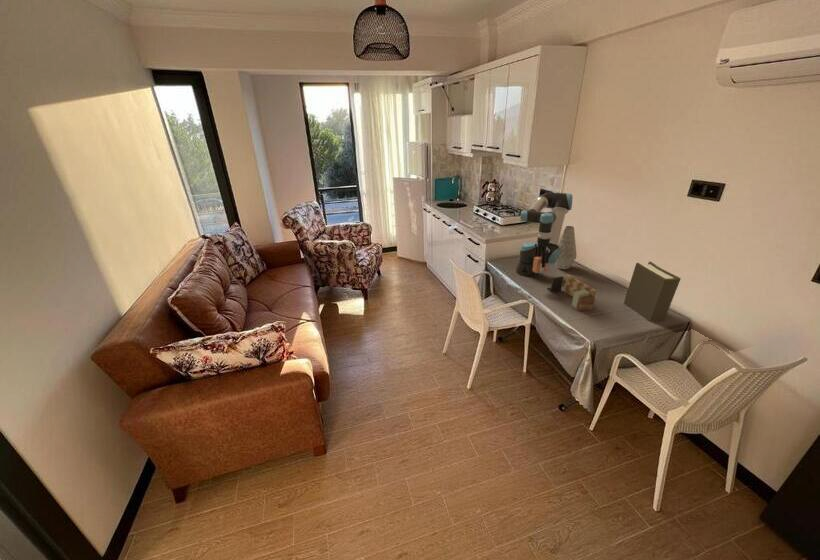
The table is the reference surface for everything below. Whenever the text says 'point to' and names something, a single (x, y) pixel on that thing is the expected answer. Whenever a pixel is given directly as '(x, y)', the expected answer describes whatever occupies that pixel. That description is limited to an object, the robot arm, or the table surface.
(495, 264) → the table surface
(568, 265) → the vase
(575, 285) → the shelf
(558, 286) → the bookend
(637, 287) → the book
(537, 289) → the table surface
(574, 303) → the book green
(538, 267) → the book rust
